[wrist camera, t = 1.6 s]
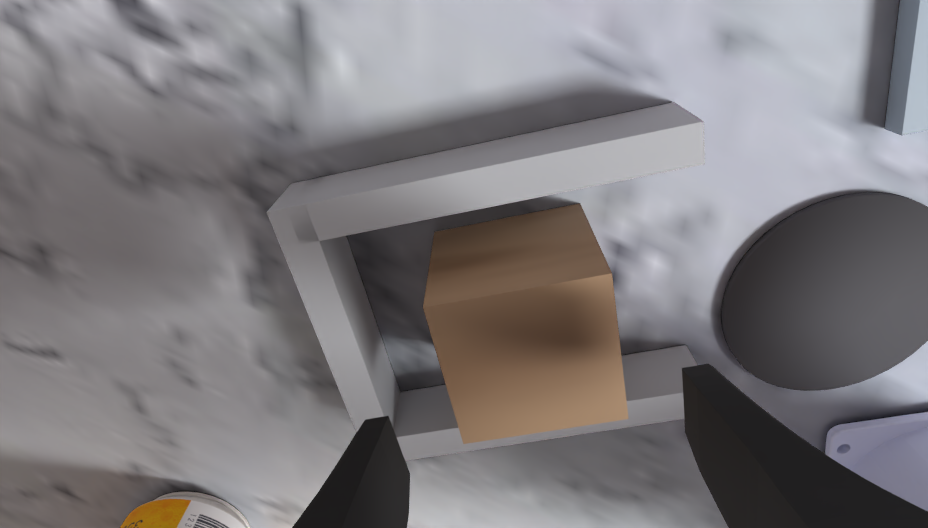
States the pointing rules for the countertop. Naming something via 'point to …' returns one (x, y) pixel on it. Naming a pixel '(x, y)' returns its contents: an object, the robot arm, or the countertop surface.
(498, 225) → the walnut cube
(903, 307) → the hole mat
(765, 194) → the countertop surface
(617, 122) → the grey flat u-shaped piece
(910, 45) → the board
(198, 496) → the beer can
